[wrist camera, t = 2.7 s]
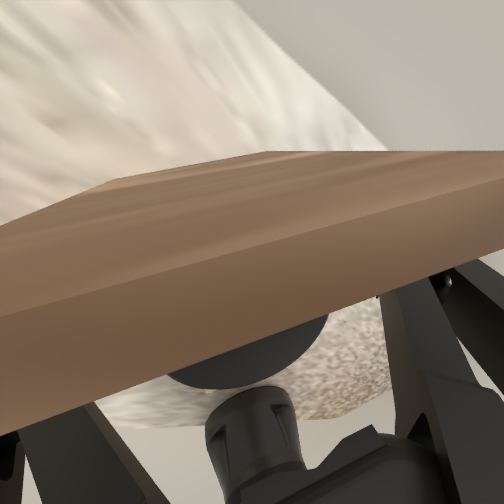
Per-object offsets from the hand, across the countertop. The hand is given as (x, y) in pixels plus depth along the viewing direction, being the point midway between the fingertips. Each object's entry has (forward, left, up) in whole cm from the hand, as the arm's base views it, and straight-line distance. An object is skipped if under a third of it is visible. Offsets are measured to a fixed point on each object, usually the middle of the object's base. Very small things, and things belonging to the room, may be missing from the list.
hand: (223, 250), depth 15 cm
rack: (+1, +2, -4) cm, 5 cm away
